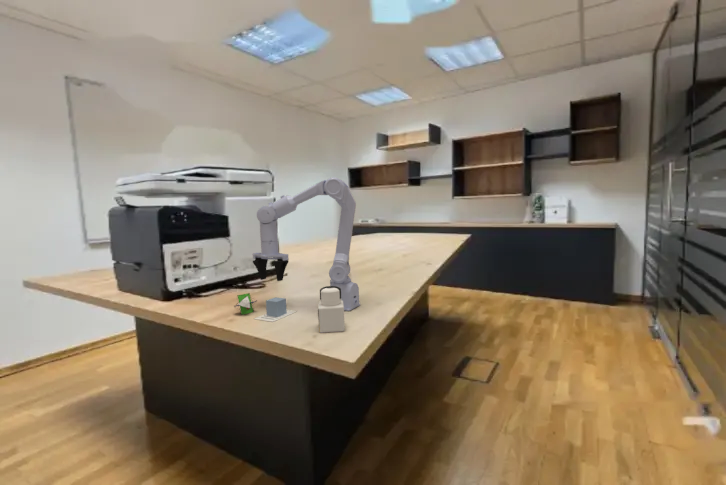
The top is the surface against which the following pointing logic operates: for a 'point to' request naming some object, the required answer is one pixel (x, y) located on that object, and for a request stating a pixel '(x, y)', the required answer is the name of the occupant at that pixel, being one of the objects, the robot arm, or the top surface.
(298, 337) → the top surface
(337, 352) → the top surface
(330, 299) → the medicine bottle
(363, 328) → the top surface
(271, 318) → the letter
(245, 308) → the geometric puzzle
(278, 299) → the slate cube
